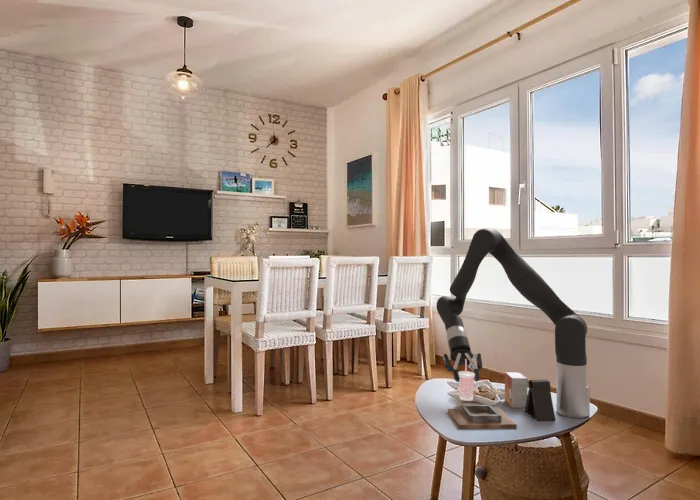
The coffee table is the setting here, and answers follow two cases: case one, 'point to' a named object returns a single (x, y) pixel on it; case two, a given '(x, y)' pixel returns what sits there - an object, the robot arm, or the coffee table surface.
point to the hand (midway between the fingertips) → (467, 380)
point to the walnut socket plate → (480, 417)
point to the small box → (516, 389)
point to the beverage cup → (466, 384)
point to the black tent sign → (540, 401)
